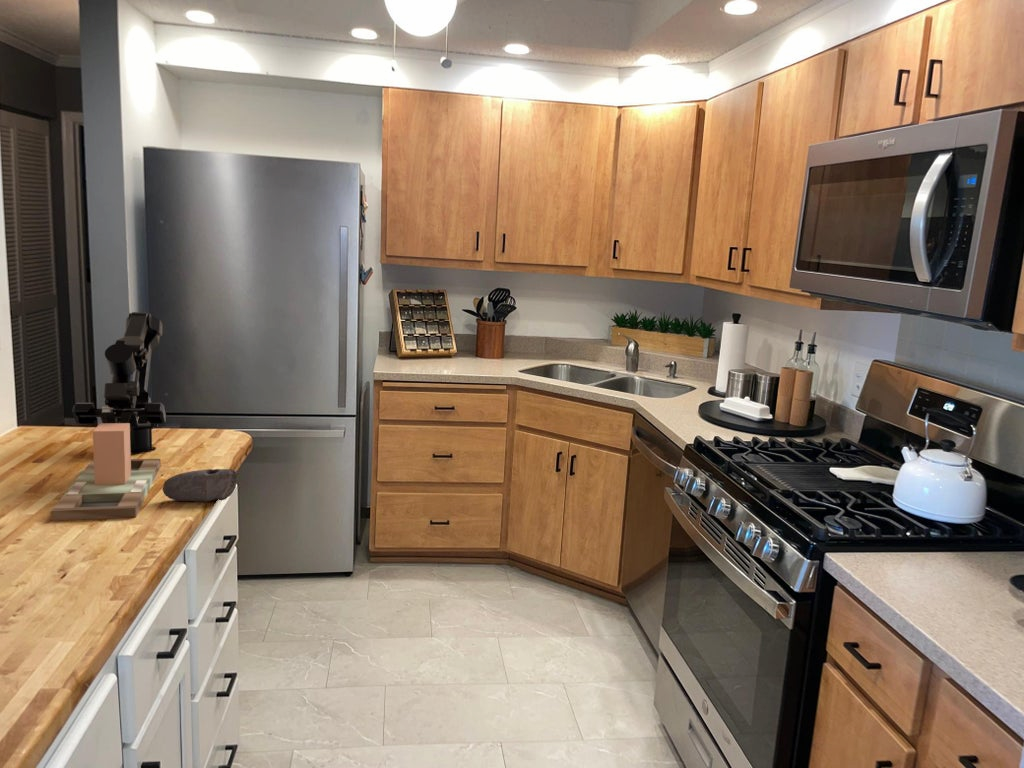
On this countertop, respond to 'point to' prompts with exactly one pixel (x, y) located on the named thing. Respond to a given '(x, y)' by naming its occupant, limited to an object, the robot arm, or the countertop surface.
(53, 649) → the countertop surface
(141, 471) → the trap board
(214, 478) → the perforated stone tool
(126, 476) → the terracotta block
